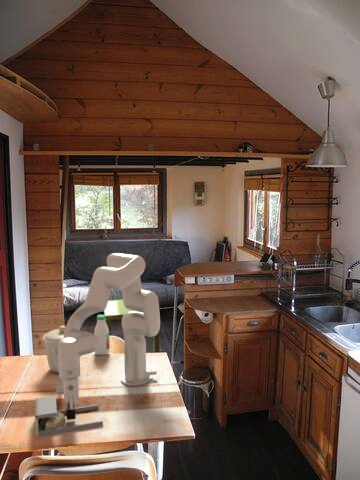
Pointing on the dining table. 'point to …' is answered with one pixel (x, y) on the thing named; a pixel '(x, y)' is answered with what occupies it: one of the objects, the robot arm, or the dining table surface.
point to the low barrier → (49, 408)
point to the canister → (53, 345)
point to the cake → (53, 422)
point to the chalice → (56, 362)
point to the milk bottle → (102, 335)
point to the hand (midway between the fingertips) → (71, 418)
